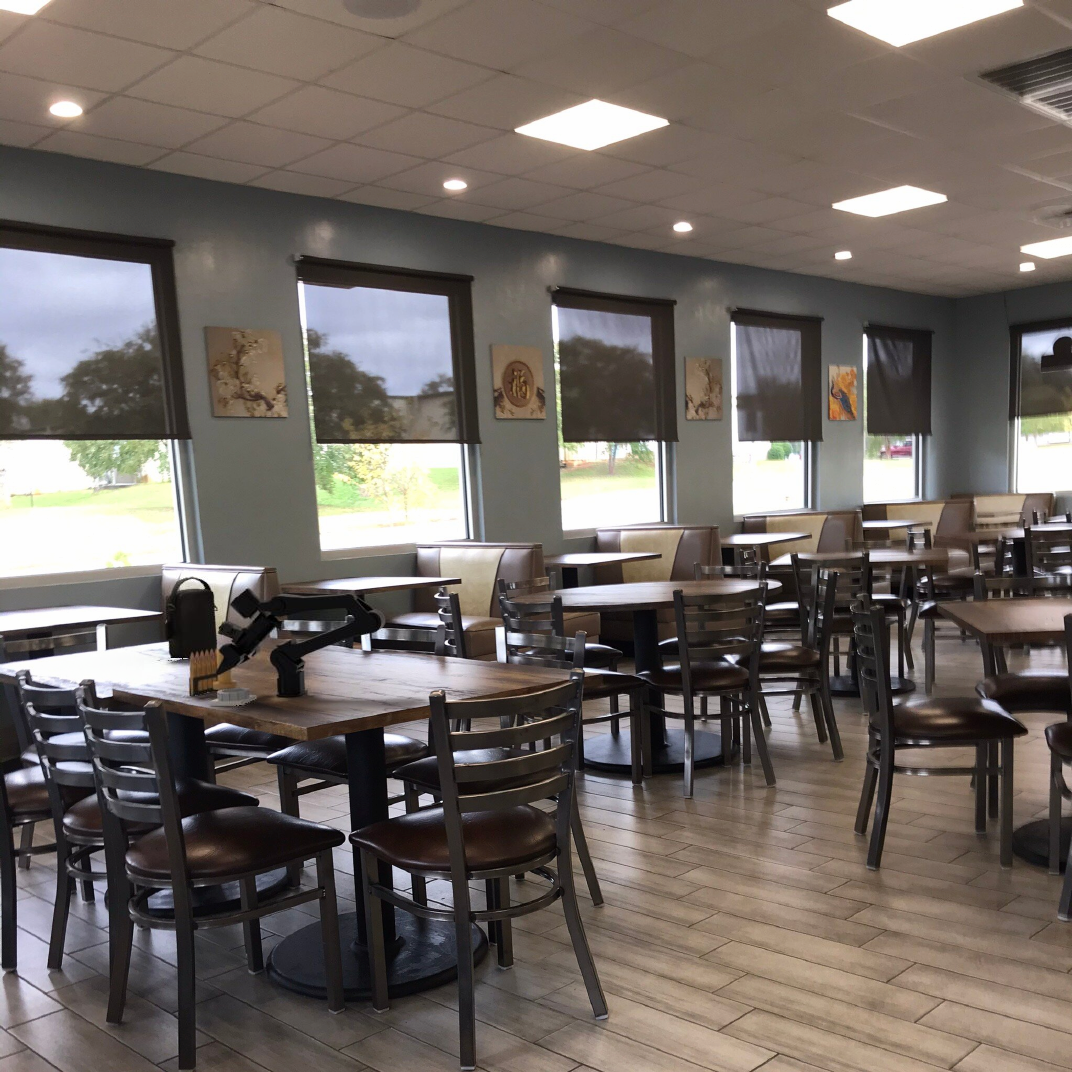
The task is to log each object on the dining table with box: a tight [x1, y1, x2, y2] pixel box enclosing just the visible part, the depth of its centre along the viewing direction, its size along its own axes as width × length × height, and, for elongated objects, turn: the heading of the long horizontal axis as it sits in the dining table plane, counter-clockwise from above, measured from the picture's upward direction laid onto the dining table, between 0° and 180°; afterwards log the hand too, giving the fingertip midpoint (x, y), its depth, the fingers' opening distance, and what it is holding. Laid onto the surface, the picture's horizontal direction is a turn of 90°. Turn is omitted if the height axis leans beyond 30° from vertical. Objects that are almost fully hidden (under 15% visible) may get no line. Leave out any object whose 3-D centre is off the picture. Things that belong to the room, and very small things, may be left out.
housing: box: [209, 687, 257, 707], centre depth 273 cm, size 9×9×3 cm
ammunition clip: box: [188, 647, 218, 697], centre depth 290 cm, size 11×2×12 cm, turn 150°
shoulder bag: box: [157, 576, 219, 662], centre depth 365 cm, size 23×9×28 cm, turn 151°
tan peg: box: [213, 648, 239, 691], centre depth 282 cm, size 6×6×13 cm
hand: (219, 672), depth 282 cm, fingers closed on tan peg, 4 cm apart
